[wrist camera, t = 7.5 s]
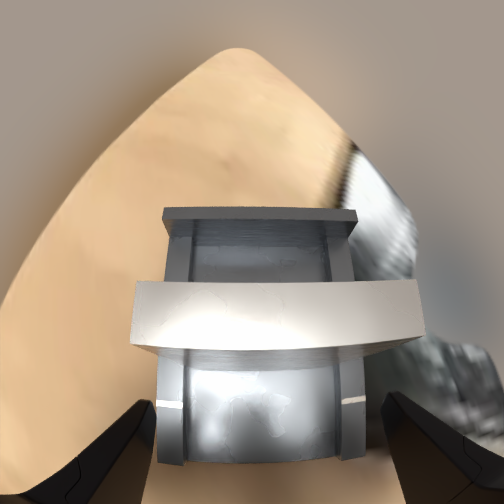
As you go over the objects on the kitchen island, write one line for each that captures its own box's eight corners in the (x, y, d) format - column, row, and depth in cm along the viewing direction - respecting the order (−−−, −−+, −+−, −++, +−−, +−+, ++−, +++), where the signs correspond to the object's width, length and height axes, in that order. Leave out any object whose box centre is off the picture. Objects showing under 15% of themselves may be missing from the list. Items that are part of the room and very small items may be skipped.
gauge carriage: (360, 364, 15) (481, 324, 6) (158, 367, 15) (52, 332, 6) (354, 295, 17) (446, 200, 8) (163, 296, 16) (86, 193, 8)
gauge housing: (352, 449, 13) (381, 463, 10) (167, 454, 13) (145, 471, 9) (336, 242, 19) (355, 209, 16) (177, 241, 19) (164, 207, 16)
